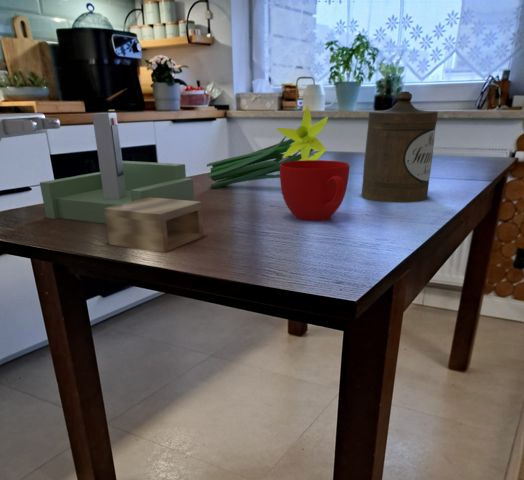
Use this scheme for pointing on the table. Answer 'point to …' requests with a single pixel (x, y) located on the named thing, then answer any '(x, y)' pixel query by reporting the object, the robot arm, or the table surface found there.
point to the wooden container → (399, 152)
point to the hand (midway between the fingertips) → (47, 124)
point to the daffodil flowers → (271, 155)
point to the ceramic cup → (313, 187)
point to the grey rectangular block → (109, 155)
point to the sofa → (93, 203)
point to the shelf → (154, 223)
